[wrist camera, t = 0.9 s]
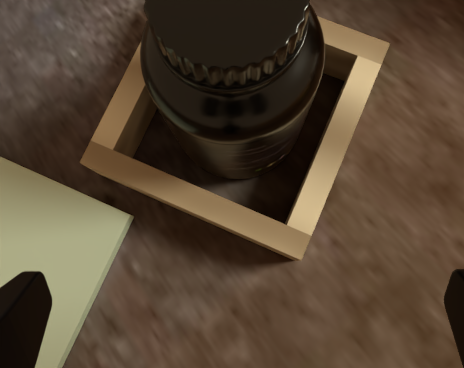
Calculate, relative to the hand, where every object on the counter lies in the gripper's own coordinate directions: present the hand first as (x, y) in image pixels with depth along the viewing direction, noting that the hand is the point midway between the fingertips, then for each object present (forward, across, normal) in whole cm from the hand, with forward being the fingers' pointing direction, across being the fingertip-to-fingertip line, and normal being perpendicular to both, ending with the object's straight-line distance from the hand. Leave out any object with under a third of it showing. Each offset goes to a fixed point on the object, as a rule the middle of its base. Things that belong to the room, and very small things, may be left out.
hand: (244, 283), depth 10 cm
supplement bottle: (+15, 0, +3) cm, 15 cm away
